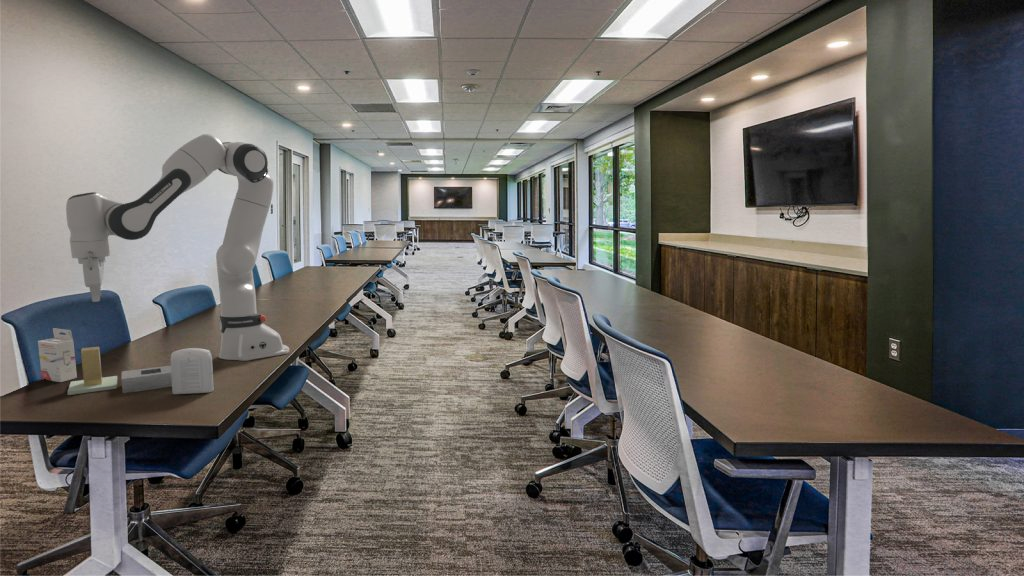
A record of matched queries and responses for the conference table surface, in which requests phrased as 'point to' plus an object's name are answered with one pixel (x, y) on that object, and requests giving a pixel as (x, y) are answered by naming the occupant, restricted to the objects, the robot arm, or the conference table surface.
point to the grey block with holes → (146, 379)
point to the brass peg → (91, 366)
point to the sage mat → (92, 386)
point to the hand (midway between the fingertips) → (96, 299)
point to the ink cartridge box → (58, 357)
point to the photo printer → (191, 371)
